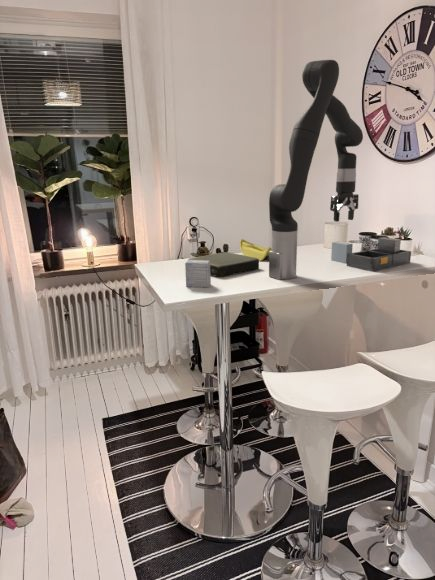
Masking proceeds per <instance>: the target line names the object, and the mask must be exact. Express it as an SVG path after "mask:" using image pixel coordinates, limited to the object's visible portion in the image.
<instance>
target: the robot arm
mask: <svg viewBox="0 0 435 580" xmlns="http://www.w3.org/2000/svg"><path fill="white" fill-rule="evenodd" d="M339 76H340V66H339V63H338V61H336V60H334V59H322V60H321V59H320V60H313V61H309V62H308V63H306V64H305V66H304V67H303V69H302V74H301V77H302V78H301V79H302V83H303V86H304V88H305V89H306V90H307V92H308V93H309V94H310V96H312V97H313V100H312V101H311V103H310V105H309V106H308V107H307V109H305V111H304V112H303V113H302V114H301V115H300V117H299V118H298V119H297V121H295V124H294V125H293V129H292V132H291V136H290V139H289V145H288V151H289V160H290V168H289V174H288V178H287V180H286V184H284V183H283V184H282V183H281V184H276V185H275V186H273V187H272V189H271V191H270V193H269V197H268V205H269V208H268V209H269V222H270V225H271V251H270V252H269V256H268V277H270V278H274V279H277V280H291V279H295V278H296V277H297V263H298V262H297V260H298V259H297V258H298V257H297V256H298V253H297V252H298V228H299V226H298V222H297V221H296V220H295V219H294V217H293V215H292V213H293V212H296V211H297V210H299V209H300V207H301V206H302V203H303V202H304V197H305V193H306V187H307V182H308V178H309V177H308V175H309V173H310V168H311V165H312V161H313V159H314V158H313V157H314V154H315V151H316V148H317V146H318V141H319V138H320V133H321V130H322V126H323V123H324V120H325V116H327V118H328V121H329V122H330V124H331V126H332V129H333V130H334V131H335V132H336V133H335V135H334V144H335V148H336V154H337V172H336V184H335V192H336V193H337V195H331V197H330V207H329V209H330V210H329V211H331V212H333V221H334V222H335V223H336V222H337V223H338V222H340V215H341V214H340V211H341V210H342V209H343V208H344V207H347V209H348V210H347V211H348V212H347V219H348V220H349V221H353V220H354V217H355V211H356V210H358V209H359V194H356V193H355V192H356V183H357V155H356V154H355V153H353V152H349V151H348V150H347V148H351V147H352V148H353V147H358V146H359V145H361V144H362V142H363V139H364V133H363V131H362V128H361V127H360V125H358V124H357V122H355V121H354V120H353V119H352V118H351V116H350V113H349V111H348V109H347V107H346V105H345V104H344V103H343V102H342V101H341V100H339V99H338V97H336V96H335V95H334V92H335V90H336V86H337V85H338V81H339V78H340V77H339Z"/></svg>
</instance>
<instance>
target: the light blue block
mask: <svg viewBox="0 0 435 580" xmlns="http://www.w3.org/2000/svg"><path fill="white" fill-rule="evenodd" d="M349 253H353V243H349V242H344V241H333V242H331V253H330V254H331V255H330V257H331V258H330V260H331V261H332V262H336V263H342V264H345V265H347V254H349Z"/></svg>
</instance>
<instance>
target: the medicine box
mask: <svg viewBox="0 0 435 580" xmlns="http://www.w3.org/2000/svg"><path fill="white" fill-rule="evenodd" d="M184 265H185V268H184V269H185V285H186V286H185V287H186V288H209V287H210V286H211V285H212V281H211V278H212V277H211V274H210V261H202V260H189V261H188V260H187V261H186V262H185V263H184Z"/></svg>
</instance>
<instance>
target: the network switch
mask: <svg viewBox="0 0 435 580" xmlns="http://www.w3.org/2000/svg"><path fill="white" fill-rule="evenodd" d="M189 260H202V261H210V276H213V277H217V278H224V277H229V276H233V275H237V274H242V273H246V272H247V273H249V272H252V271H257V270H259V268H260V261H259V259H258V258H254V257H249V256H245V255H244V254H239V253H233V252H227V251H223V252H216V253H213V254H206V255H202V256H197V257H190V258H189V259H187V261H189Z"/></svg>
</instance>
